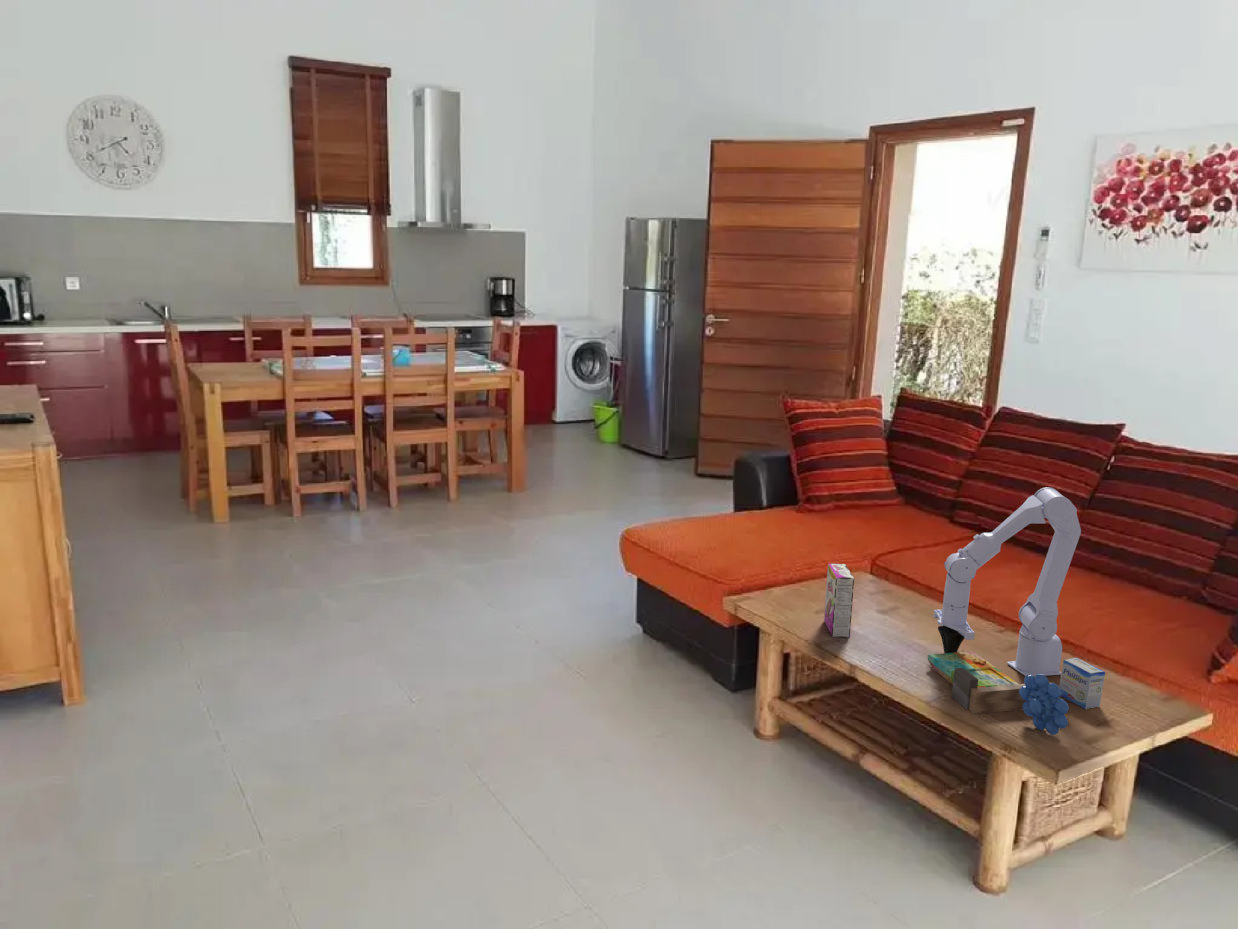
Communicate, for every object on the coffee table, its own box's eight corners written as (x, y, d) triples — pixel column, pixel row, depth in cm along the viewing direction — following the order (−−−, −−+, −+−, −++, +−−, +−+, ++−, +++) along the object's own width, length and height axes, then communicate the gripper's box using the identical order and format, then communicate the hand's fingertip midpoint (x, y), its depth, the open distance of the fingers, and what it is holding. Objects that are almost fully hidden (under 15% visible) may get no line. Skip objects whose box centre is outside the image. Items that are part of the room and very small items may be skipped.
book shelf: (1031, 690, 220) (1035, 662, 219) (1054, 706, 213) (1058, 677, 211) (951, 697, 216) (954, 668, 214) (971, 714, 208) (975, 684, 206)
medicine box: (1057, 695, 219) (1062, 659, 217) (1072, 692, 220) (1077, 656, 218) (1085, 710, 211) (1090, 673, 209) (1100, 707, 213) (1106, 671, 211)
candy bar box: (822, 621, 258) (827, 562, 254) (841, 621, 258) (846, 563, 254) (830, 637, 247) (835, 577, 244) (850, 638, 247) (855, 577, 244)
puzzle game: (972, 647, 232) (1024, 684, 213) (969, 665, 233) (1021, 703, 214) (928, 651, 230) (977, 688, 211) (926, 669, 231) (975, 707, 212)
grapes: (1002, 722, 205) (1009, 669, 202) (1023, 715, 208) (1030, 663, 206) (1050, 746, 195) (1058, 692, 192) (1072, 739, 198) (1079, 685, 196)
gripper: (924, 593, 236) (919, 645, 239) (957, 615, 222) (951, 670, 225) (950, 592, 238) (944, 643, 241) (984, 613, 224) (978, 668, 227)
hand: (949, 656), depth 233 cm, fingers closed
